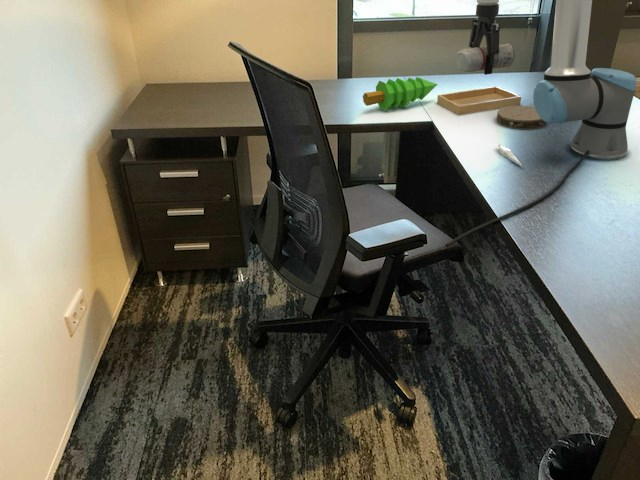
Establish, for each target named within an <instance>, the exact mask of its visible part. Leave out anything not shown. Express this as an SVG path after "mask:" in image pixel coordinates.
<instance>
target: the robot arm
mask: <svg viewBox="0 0 640 480" xmlns="http://www.w3.org/2000/svg"><path fill="white" fill-rule="evenodd" d="M500 1H501V0H476V3H477V4H476V7H475V16H476V17H477V18H473V19H472V25H471V30H470V31H471V32H470V36H469V37H470V38H469V43H468V47H469V48H470V49H471V48H475V47H478V48H480V47H481V44H482V41H483V38H484V37H485V43H486V47H487V52H488V54H487V55H486V62H485V70H483V75H485V76H486V75H492V74H493V63H494V56H495V55H497V54H499V45H500V31H501V27H502V25H501V23H496V17H498V16H499V12H500V4H499V3H500ZM592 5H593V0H555V11H554V23H553V35H552V45H551V46H552V47H551V58H550V66H549V67H548V68H547V70H545V71H544V73H543V80H540V81H539V82H538V83H537V84H536V85H535V88H533V89H534V91H533V95H532V96H533V99H532V100H533V107H535V109H536V112H537V113H538V116H539V117H540V118H541V119H542V120H543V121H545V122H546V124H547V123H548V124H563V123H567V122H576V121H580V125H579V126H578V128H577V130H576V132H575V133H574V135H573V136H572V139H571V140H570V143H569V150H570V152H572V153H574V154H575V155H577V156H580V158H579V159H578V160H577V162H576V163H575V164H574V165H572V166H571V167H570V168H569V169H568V170H567V171H566V173H565V174H564V176H563V177H562V179H560V181H559V182H558V183H557V184H556V185H555V186H554V187H553V188H551V189H550V190H549V191H548V192H546V193H545V194H543V195H541V196H540V197H538V198H537V199H535V200H533V201H531V202H529V203H527V204H526V205H523V206H522V207H519V208H517V209H515V210H513V211H511V212H510V211H509V212H508V213H506V214H503V215H501V216H499V217H496V218H494V219H492V220H489V221H487V222H485V223H483V224H480V225H478V226H476V227H474V228H472V229H470V230H468V231H465V232H464V233H462V234H461V235H459V236H457V237H456V238H454V239H452V240H451V241H449V242H447V243H445V245H444V246H445V247H446V248H449V247H450V246H452V245H454V244H456V243H457V242H458V241H460V240H462V239H464V238H466V237H467V236H470V235H471V234H473V233H475V232H477V231H480V230H482V229H484V228H486V227H488V226H490V225H493V224H495V223H497V222H499V221H502V220H504V219H507V218H508V217H511V216H513V215H516V214H517V213H519V212H522V211H524V210H526V209H528V208H531V207H532V206H534V205H535V204H537V203H539V202H541V201H543V200H544V199H546V198H547V197H549V196H550V195H551V194H553V193H554V192H555V191H556V190H557V189H558V188H559V187H560V186H561V185H562V184H563V183H564V182H565V180H566V179H567V178H568V176H569V175H570V174H571V172H573V170H575V169H576V168H577V167H578V166H579V165H580V164H581V163H582V162H583V160H585V158H586V159H591V160H598V161H613V160H619V159H621V158H624V157H625V156H626V155H627V154H628V153H627V152H628V148H629V145H628V136H627V123H628V119H629V115H630V111H631V108H632V103H633V100H634V96H635V93H636V86H637V78H636V76H635V75H634V74H632V73H630V72H628V71H624V70H621V69H616V68H615V69H614V68H608V67H607V68H606V67H596V68H593V69H591V70H590V69H589V68H588V66H587V65H586V62H587V53H588V43H589V34H590V33H589V32H590V24H591V15H592Z"/></svg>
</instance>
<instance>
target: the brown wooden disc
mask: <svg viewBox="0 0 640 480" xmlns="http://www.w3.org/2000/svg"><path fill="white" fill-rule="evenodd" d="M496 122H497V124H499V125H501V126H503V127H505V128H508V129H509V128H510V129H515V130H535V129H536V130H537V129H540V128H542V127H545V125H546V124H547V122H545V121H543V120H542V119H541V118H540V117H539V116H538V113H537V112H536V109H535V106H531V105H517V106H507V107H503V108H498V109H497V113H496Z"/></svg>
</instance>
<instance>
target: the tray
mask: <svg viewBox="0 0 640 480" xmlns="http://www.w3.org/2000/svg"><path fill="white" fill-rule="evenodd" d="M436 101H437V104H438V105H439V106H442V108H445V109H447V110H449V111H451V112H452V113H454V114H456V115H458V116H461V115H467V114H472V113H479V112H487V111H491V110H499V109H501V108H503V107H507V106H521V103H522V96H521V95H519V94H517V93H514V92H512V91H509V90H507V89H504V88H503V87H499V86H497V85H495V86H490V87H489V86H488V87H482V88H475V89H469V90H461V91H456V92H450V93H442V94H437V100H436Z"/></svg>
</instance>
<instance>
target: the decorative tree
mask: <svg viewBox="0 0 640 480" xmlns="http://www.w3.org/2000/svg"><path fill="white" fill-rule="evenodd" d="M438 85H439V84H438V83H436V82H433V81H430V80H427V79H425V78H422V77H418V76H416V78H415V79H413V78H411V77H408V79H407V80H406V79H402V78H398V77H397V78H396V79H395V80H393V79H391V78H388V80H387V81H386V82H384V81H381V80H379V81H378V82H377V84H376V85H375V90H374V91H368V92H364V93H363V95H362V102H363V103H364V105H365V106H366V107H369V106H372V105H376V104H377V105H378V108H379V109H380V110H381V111H384V112H386V111H387V110H388V109H390V108H391V109H393V110H395V109H396V108H397V107H398V106H399V107H401V108H403V109H405V108H406V107H407V105H408V104H410V103H414V102H415V101H416V100H417V99H418V100H420V101H422V100H424V99H425V98H426V96H428V95H429V94H430V93H431V92H432V91H433V90H434V89H435V88H436V87H437V86H438Z"/></svg>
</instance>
